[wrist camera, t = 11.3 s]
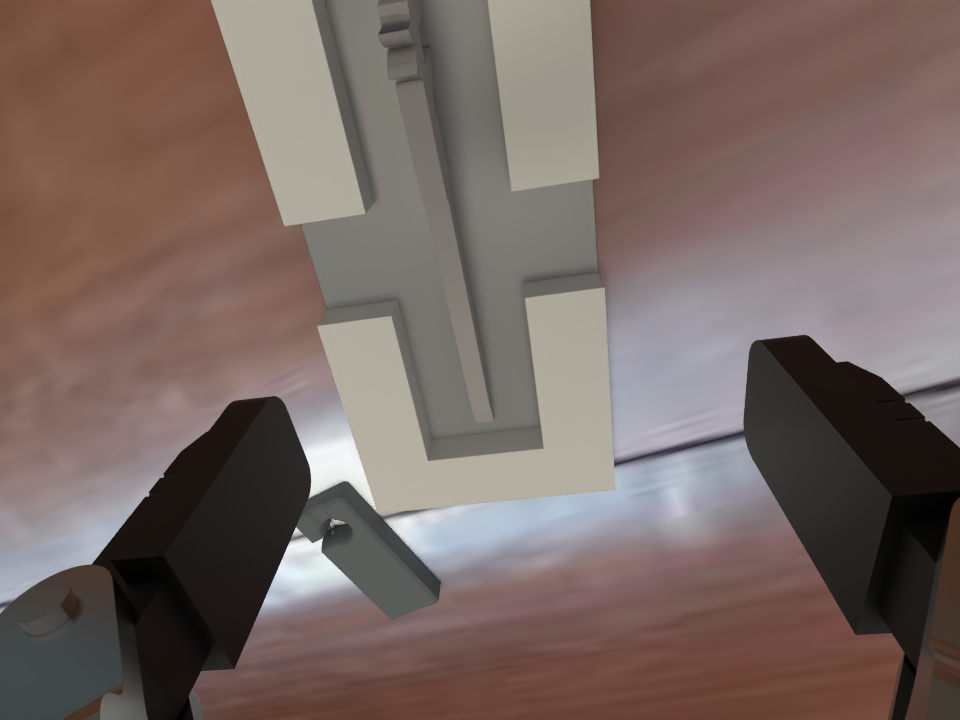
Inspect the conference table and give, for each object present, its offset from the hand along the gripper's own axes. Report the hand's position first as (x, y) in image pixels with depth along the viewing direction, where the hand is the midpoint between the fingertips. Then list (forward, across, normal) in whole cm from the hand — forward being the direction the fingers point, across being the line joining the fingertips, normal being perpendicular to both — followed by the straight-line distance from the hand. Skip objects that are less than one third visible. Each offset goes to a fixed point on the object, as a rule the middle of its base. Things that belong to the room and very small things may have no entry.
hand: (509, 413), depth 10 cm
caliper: (+19, +3, +3) cm, 19 cm away
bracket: (+19, +12, +23) cm, 32 cm away
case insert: (+19, +3, +3) cm, 19 cm away
